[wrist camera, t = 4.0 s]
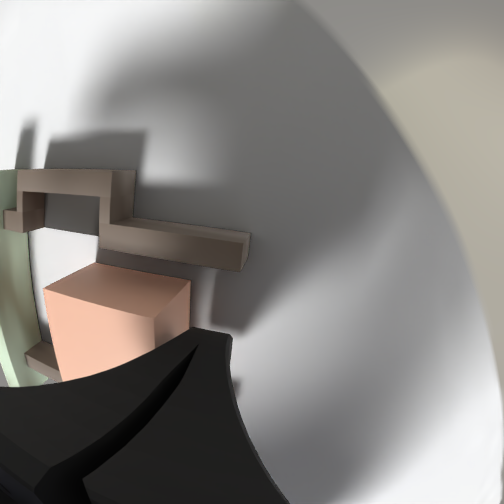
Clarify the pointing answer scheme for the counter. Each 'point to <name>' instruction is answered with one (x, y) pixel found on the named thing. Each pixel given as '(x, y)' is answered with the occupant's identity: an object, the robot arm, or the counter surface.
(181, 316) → the block
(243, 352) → the counter surface
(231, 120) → the counter surface
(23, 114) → the counter surface
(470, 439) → the counter surface
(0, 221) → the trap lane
